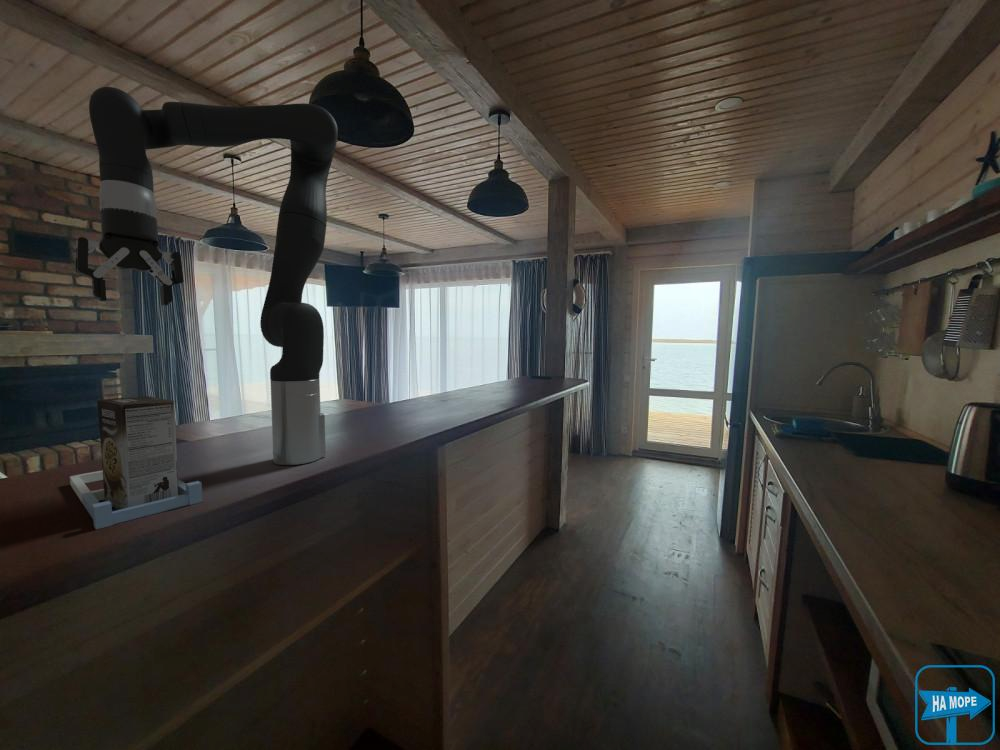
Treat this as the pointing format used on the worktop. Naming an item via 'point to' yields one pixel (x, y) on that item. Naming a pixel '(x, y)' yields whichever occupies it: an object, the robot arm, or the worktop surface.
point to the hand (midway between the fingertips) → (135, 303)
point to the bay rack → (107, 517)
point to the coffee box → (138, 450)
